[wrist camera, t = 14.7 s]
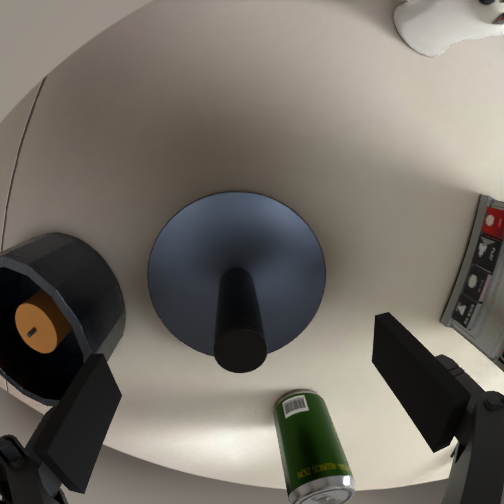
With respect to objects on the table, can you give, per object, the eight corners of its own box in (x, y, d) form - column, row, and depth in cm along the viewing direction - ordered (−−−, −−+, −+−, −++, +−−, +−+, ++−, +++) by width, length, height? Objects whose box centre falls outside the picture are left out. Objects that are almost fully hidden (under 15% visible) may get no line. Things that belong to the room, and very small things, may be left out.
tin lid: (135, 207, 22) (69, 234, 12) (313, 179, 22) (374, 187, 12) (173, 359, 25) (151, 445, 15) (324, 337, 26) (366, 416, 16)
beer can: (262, 403, 27) (277, 504, 16) (309, 379, 27) (345, 478, 15) (288, 429, 29) (307, 519, 17) (331, 407, 28) (366, 495, 16)
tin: (2, 245, 21) (-48, 268, 14) (104, 220, 22) (55, 242, 14) (42, 358, 25) (9, 399, 17) (142, 356, 25) (120, 412, 18)
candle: (38, 283, 22) (1, 310, 16) (73, 278, 22) (37, 307, 16) (53, 326, 23) (22, 359, 17) (88, 324, 23) (59, 360, 17)
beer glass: (387, 42, 19) (501, -29, 4) (388, -10, 17) (476, -84, 3) (447, 73, 20) (566, 40, 5) (445, 21, 18) (542, -24, 4)
